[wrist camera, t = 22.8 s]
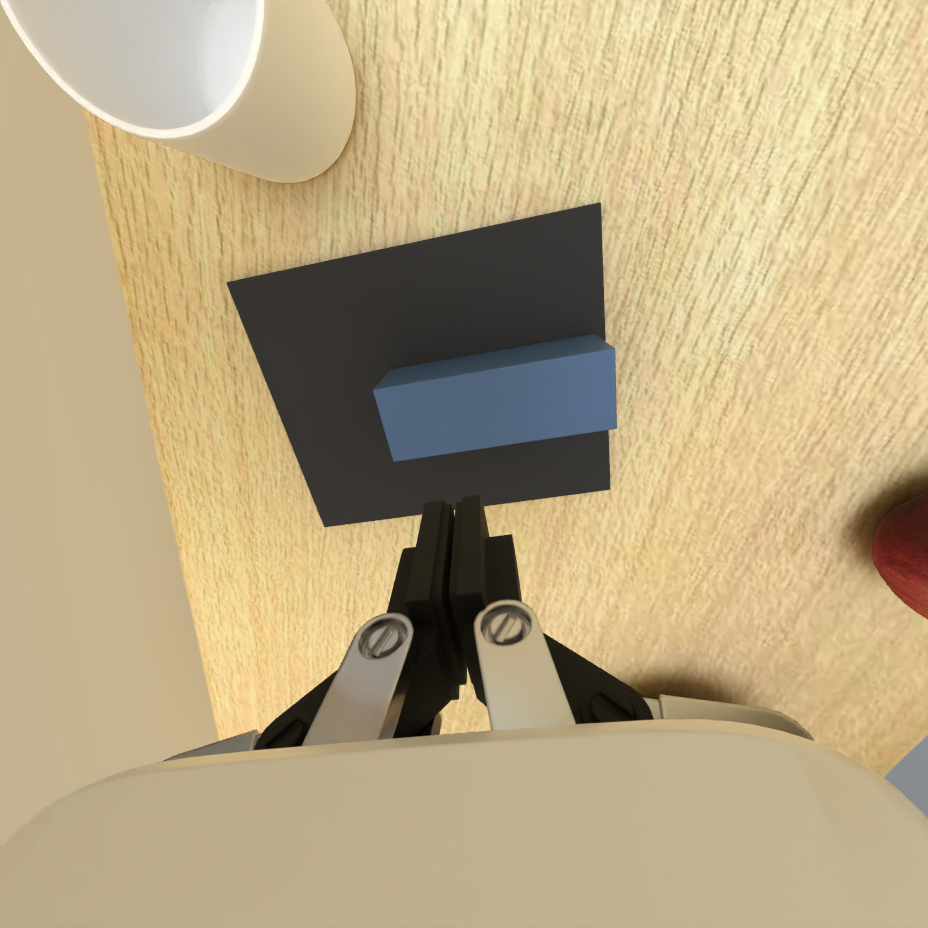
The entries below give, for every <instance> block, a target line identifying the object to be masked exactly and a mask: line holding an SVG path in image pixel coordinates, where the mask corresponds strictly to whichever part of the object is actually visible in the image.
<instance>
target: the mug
mask: <svg viewBox="0 0 928 928" xmlns="http://www.w3.org/2000/svg"><path fill="white" fill-rule="evenodd" d="M0 3H1V5H2V7H3V9H4V11H5V12H6V14H7V16H8V18H9V19H10V21H11V23H12V25H13V27H14V28H15V30H16V32H17V33H18V35H19V36H20V38H21V39H22V41H23V42H24V44H25V45H26V47H27V48H28V50H29V51H30V52H31V53H32V55H33V56H34V57H35V59H36V60H37V61H38V62H39V63H40V65H41V66H42V68H43V69H44V70H45V71H46V72H47V73H48V74H49V75H50V76H51V77H52V79H53V80H54V81H55V82H56V83H57V84H58V85H59V86H60V87H61V88H62V89H63V90H64V91H65V92H67V93H68V94H69V95H70V96H71V97H72V98H73V99H74V100H75V101H76V102H78V103H79V104H80V105H81V106H83V107H84V108H85V109H87V110H88V111H89V112H91V113H92V114H93V115H95V116H96V117H98V118H100V119H102V120H103V121H105V122H107V123H108V124H110V125H112V126H114V127H116V128H118V129H121V130H123V131H125V132H127V133H130V134H133V135H136V136H139V137H141V138H144V139H147V140H150V141H153V142H156V143H159V144H162V145H165V146H168V147H170V148H173V149H176V150H179V151H182V152H185V153H188V154H191V155H194V156H197V157H199V158H202V159H205V160H208V161H211V162H214V163H217V164H220V165H223V166H226V167H228V168H231V169H234V170H237V171H240V172H243V173H246V174H249V175H252V176H254V177H258V178H261V179H265V180H268V181H273V182H280V183H296V182H301V181H306V180H309V179H311V178H314V177H316V176H318V175H319V174H321V173H323V172H324V171H325V170H327V169H328V168H329V167H330V166H331V165H332V164H333V163H334V162H335V161H336V160H337V158H338V157H339V155H340V154H341V152H342V151H343V149H344V147H345V145H346V143H347V141H348V139H349V136H350V133H351V130H352V126H353V122H354V117H355V108H356V84H355V75H354V70H353V65H352V60H351V57H350V53H349V50H348V47H347V43H346V41H345V38H344V36H343V34H342V31H341V29H340V27H339V25H338V23H337V21H336V19H335V17H334V15H333V13H332V11H331V9H330V8H329V6H328V4H327V3H326V1H325V0H0Z"/></svg>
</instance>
